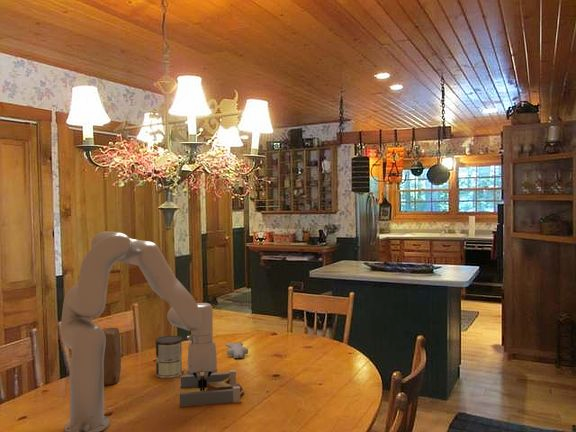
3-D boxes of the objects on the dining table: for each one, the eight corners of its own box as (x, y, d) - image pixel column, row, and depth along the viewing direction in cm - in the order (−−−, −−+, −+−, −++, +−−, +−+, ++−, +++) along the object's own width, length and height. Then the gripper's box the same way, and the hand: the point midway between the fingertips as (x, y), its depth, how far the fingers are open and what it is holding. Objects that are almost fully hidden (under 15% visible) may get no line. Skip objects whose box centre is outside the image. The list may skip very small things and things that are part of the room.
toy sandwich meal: (249, 396, 175) (249, 382, 175) (213, 404, 168) (213, 390, 168) (234, 385, 186) (234, 372, 185) (200, 392, 179) (200, 379, 179)
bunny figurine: (228, 351, 216) (224, 338, 230) (228, 362, 216) (223, 349, 231) (250, 350, 218) (244, 337, 232) (249, 361, 219) (244, 348, 233)
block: (116, 385, 186) (115, 332, 185) (95, 386, 185) (94, 332, 185) (123, 375, 196) (122, 325, 196) (103, 376, 196) (103, 325, 195)
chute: (240, 402, 170) (240, 388, 169) (179, 406, 166) (179, 392, 166) (235, 382, 188) (235, 369, 188) (180, 386, 185) (180, 373, 185)
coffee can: (150, 374, 198) (150, 339, 198) (171, 368, 206) (171, 334, 206) (166, 380, 192) (166, 343, 191) (187, 373, 200) (187, 338, 199)
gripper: (180, 342, 171) (180, 395, 172) (223, 339, 175) (224, 391, 175) (180, 337, 179) (180, 387, 179) (222, 334, 182) (222, 384, 182)
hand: (202, 389), depth 177 cm, fingers closed
